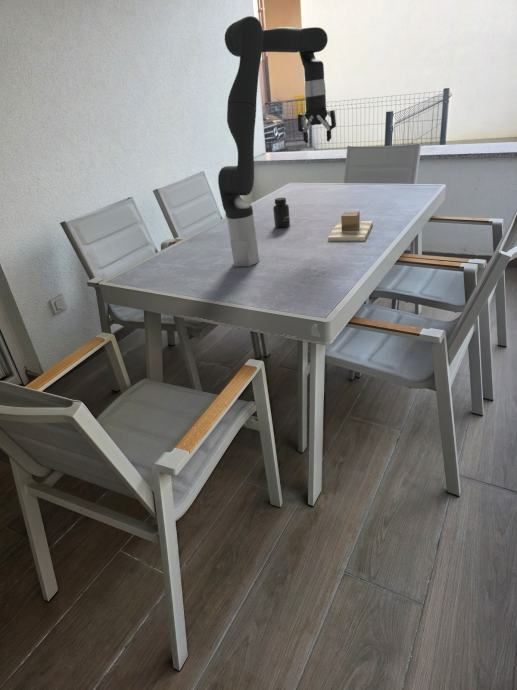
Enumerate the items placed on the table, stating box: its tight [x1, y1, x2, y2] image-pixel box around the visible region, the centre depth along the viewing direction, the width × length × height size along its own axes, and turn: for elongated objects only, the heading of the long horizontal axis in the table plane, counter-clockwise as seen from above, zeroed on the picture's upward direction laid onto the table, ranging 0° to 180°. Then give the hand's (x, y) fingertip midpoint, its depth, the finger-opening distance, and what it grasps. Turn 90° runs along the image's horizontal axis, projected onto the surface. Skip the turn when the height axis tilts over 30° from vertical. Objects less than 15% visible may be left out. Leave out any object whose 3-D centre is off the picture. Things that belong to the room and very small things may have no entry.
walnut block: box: [340, 210, 361, 231], centre depth 174 cm, size 6×6×6 cm
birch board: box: [327, 220, 374, 242], centre depth 176 cm, size 20×14×2 cm
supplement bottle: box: [272, 197, 291, 229], centre depth 193 cm, size 7×7×12 cm
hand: (317, 142), depth 171 cm, fingers open, 8 cm apart
